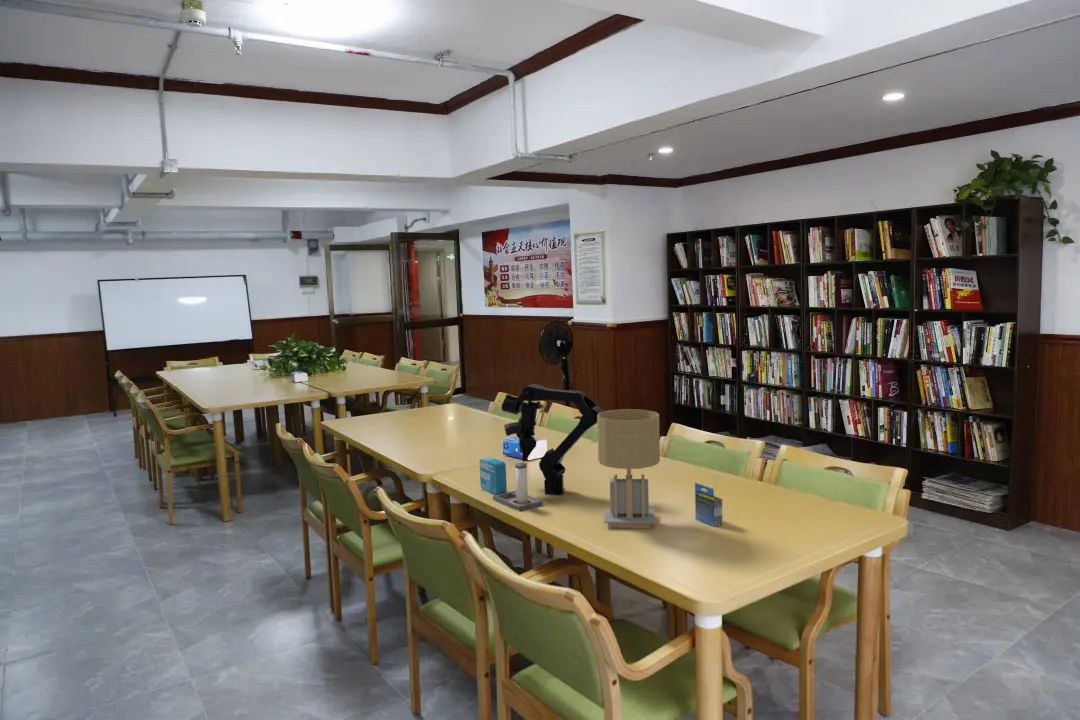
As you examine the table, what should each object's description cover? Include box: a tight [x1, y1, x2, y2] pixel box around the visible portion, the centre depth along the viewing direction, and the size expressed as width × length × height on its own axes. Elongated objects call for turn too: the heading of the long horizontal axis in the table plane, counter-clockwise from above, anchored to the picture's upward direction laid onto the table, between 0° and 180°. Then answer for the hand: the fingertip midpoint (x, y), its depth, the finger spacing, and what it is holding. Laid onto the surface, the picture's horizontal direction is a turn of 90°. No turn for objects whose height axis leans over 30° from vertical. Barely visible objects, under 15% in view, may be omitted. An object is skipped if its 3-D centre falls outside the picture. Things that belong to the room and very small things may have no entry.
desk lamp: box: [596, 408, 661, 529], centre depth 229 cm, size 20×20×35 cm
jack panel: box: [492, 490, 544, 512], centre depth 255 cm, size 10×17×2 cm, turn 36°
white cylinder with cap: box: [514, 462, 529, 505], centre depth 250 cm, size 4×4×15 cm
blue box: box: [479, 456, 508, 495], centre depth 269 cm, size 12×4×12 cm, turn 35°
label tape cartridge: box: [694, 482, 723, 527], centre depth 228 cm, size 9×4×12 cm, turn 30°
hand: (522, 456), depth 270 cm, fingers open, 9 cm apart
